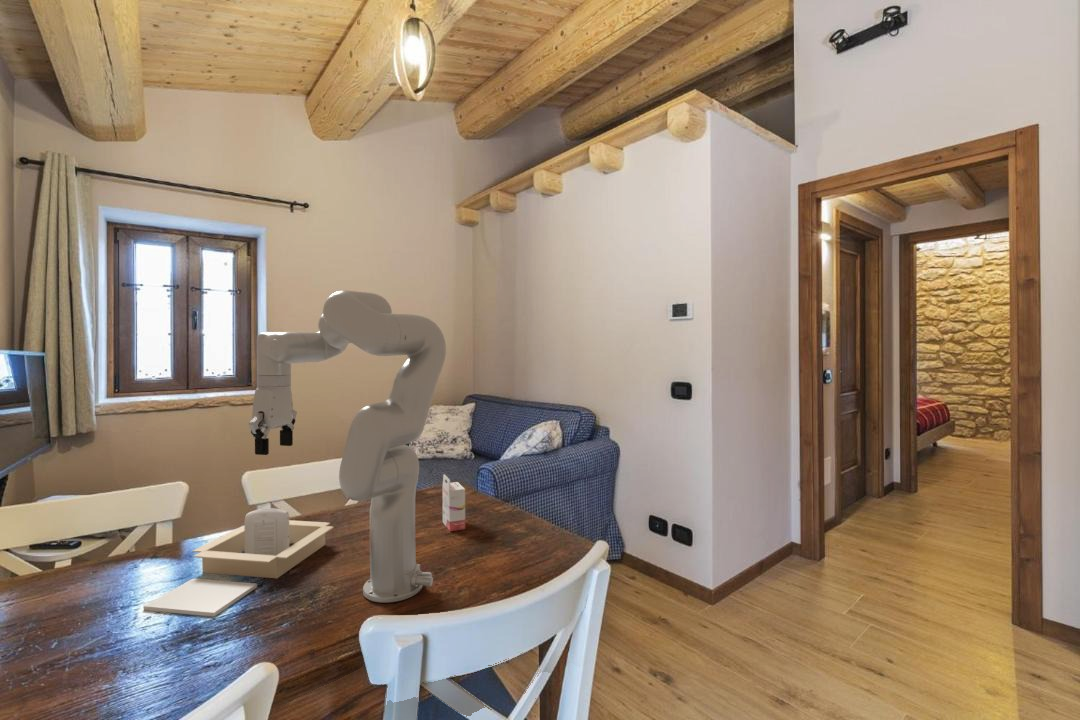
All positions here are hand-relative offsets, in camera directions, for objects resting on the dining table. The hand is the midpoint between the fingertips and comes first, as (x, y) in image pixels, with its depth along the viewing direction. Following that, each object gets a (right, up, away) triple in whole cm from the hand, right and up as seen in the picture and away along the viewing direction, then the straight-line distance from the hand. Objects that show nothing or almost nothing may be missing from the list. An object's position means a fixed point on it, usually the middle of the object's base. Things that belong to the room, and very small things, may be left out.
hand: (274, 449), depth 127 cm
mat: (-5, -28, -20) cm, 35 cm away
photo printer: (-1, -27, 0) cm, 27 cm away
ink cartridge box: (+41, -26, +21) cm, 53 cm away
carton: (-1, -27, 0) cm, 27 cm away
